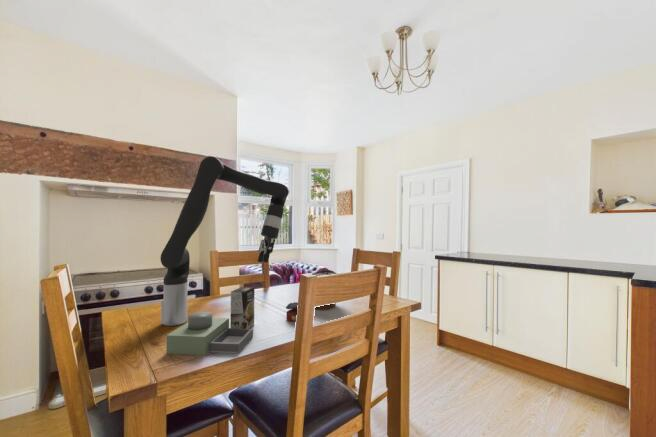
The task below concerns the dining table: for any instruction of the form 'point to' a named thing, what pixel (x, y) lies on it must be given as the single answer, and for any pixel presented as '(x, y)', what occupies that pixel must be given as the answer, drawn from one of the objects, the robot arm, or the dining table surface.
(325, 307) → the case
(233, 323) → the coffee box
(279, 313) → the dining table surface
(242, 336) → the grey-green blocky piece
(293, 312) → the canned food
